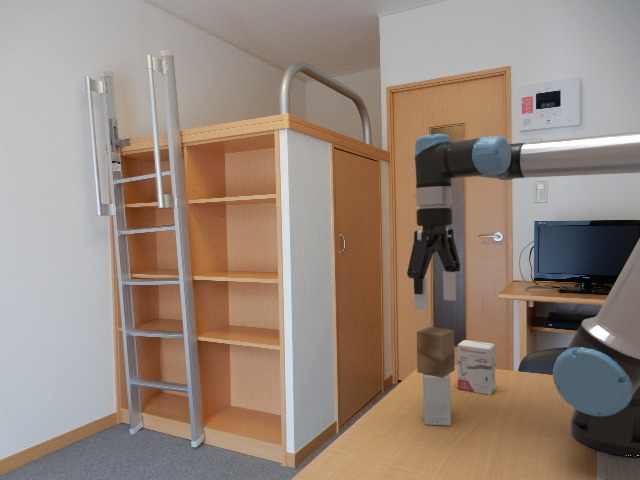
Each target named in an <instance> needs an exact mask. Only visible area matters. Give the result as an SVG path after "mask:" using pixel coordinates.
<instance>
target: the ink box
mask: <svg viewBox="0 0 640 480" xmlns="http://www.w3.org/2000/svg"><path fill="white" fill-rule="evenodd" d="M457 389H458V390H463V391H468V392H474V393H477V394H484V395H489V396H490V395H492V394H493V393H494V391H495V390H496V345H495V344H494V343H491V342H490V343H489V342H482V341H474V340H467V339H464V340H462V341H461V342H459V343H457Z"/></svg>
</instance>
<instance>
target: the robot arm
mask: <svg viewBox="0 0 640 480" xmlns="http://www.w3.org/2000/svg"><path fill="white" fill-rule="evenodd" d="M414 145H415V146H414V147H415V148H414V149H415V150H414V163H415V181H416V182H415V184H416V185H415V188H416V190H415V191H416V192H415V195H414V196H415V197H416V207H418V208H419V209H417V210H416V225H417V226H418V227H422V230H414V233H413V245H412V248H411V255H410V258H409V263H408V268H407V272H406V275H407V276H408V279H413V297H414V298H413V300H414V301H413V304H414V307H413V308H414V310H419V311H429V305H428V303H429V302H428V301H429V300H428V299H429V298H428V278H425V277H426V275H427V272H428V268H429V266H430V263H431V260H432V259H433V255H434V254H435V253H437V255H438V257H439V259H440V261H441V264H442V266H443V268H444V270H445V271H442V277H443V278H442V281H443V282H442V285H443V286H442V287H443V290H442V291H443V300H444V301H454V302H455V301H457V282H456V281H457V277H456V272H460V271H461V262H460V258H459V254H458V251H457V247H456V246H457V245H456V242H455V238H454V229H453V228H447V226H451V225H452V224H453V209H452V208H451V207H450V206H452V205H453V194H452V193H453V191H452V179H459V178H472V177H474V178H475V177H480V178H487V179H496V180H497V179H498V180H501V181H509V180H514V179H526V178H547V177H569V176H570V177H571V176H572V177H573V176H588V175H589V176H592V175H593V176H594V175H616V174H617V175H618V174H637V173H640V131H636V132H633V131H631V132H622V133H612V134H601V135H590V136H580V137H571V138H558V139H548V140H537V141H529V142H528V141H527V142H516V143H510V142H508V140H507V138H506V137H504V136H502V135H493V136H488V135H485V136H482V137H476V138H473V139H472V138H471V139H466V140H460V141H451V137H450V136H449V135H448V134H445V133H436V134H435V133H434V134H433V133H432V134H426V135H421V136H419V137H418V138H417V139H416V140H415V144H414ZM580 323H581V324H580V325H579V327H578V329H577V331H576V332H575V334H574V336H573V338H572V339H571V341H570V343H569V345H568V346H567V349H566V350H564V351H563V352H561V354H559V355H558V356H557V358H556V359H555V362H554V365H553V369H552V379H553V383H554V385H555V387H556V390H557V392H558V394H559V395H560V396H561V397H562V399H563V400H564V401H565V402H566V403H567V404H568V405H570V406H571V407H572V408H574V412H573V414H572V417H571V420H570V426H571V427H570V432H571V434H572V437H574V438H575V439H576V440H577V441H578V442H581V443H582V444H583V445H585V446H587V447H590V448H592V449H595V450H597V451H601V452H604V453H607V454H612V455H615V454H616V456H621V455H627V456H626V457H629V456H630V455H631V456H637V455H639V456H640V238H639V239H638V240H637V242H636V245H635V246H634V248H633V249H632V251H631V253H630V255H629V257H628V258H627V260H626V262H625V264H624V266H623V268H622V270H621V271H620V273H619V275H618V277H617V279H616V281H615V282H614V284H613V286H612V288H611V290H610V292H609V293H608V295H607V297H606V299H605V300H604V302H603V304H602V306H601V307H600V310H599V311H598V313H597V315H596V316H594V317H589V318H585V319H583V320H582V322H580ZM628 455H629V456H628Z"/></svg>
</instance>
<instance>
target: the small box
mask: <svg viewBox="0 0 640 480" xmlns="http://www.w3.org/2000/svg"><path fill="white" fill-rule="evenodd" d="M422 396H423V397H422V399H423V401H422V405H423V417H424V418H423V419H424V424H425V425H430V426H451V425H452V409H451V407H452V405H451V403H452V402H451V399H452V397H451V375H450V374H448V375H446V376H445V377H443V378H442V377H437V376H432V375H428V374H423V373H422Z"/></svg>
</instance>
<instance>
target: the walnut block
mask: <svg viewBox="0 0 640 480" xmlns="http://www.w3.org/2000/svg"><path fill="white" fill-rule="evenodd" d="M416 360H417V361H416V364H417V365H416V366H417V367H416V369H417V370H416V371H417V373H419V374H422V375H423V374H428V375H432V376H437V377H442V378H443V377H445V376H446V375H448V374H449V375H450V374H451V373H453V372H455V371H456V365H455V361H456V359H455V330H454V329H449V328H443V327H442V328H441V327H434V326H427V327H425V328H423V329H420V330H419V331H418V330H417V331H416Z"/></svg>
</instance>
